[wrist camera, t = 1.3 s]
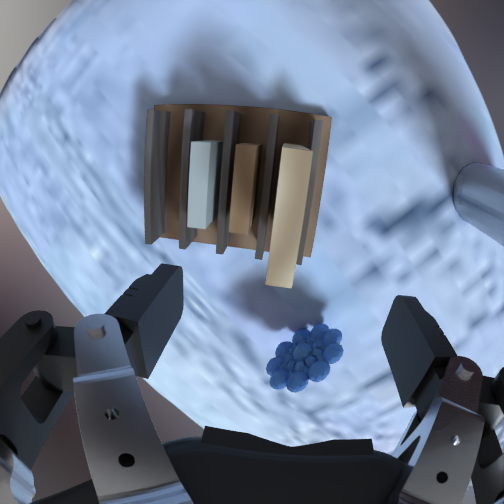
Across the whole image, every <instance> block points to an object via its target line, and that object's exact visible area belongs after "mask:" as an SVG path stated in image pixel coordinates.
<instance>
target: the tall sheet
mask: <svg viewBox="0 0 504 504" xmlns="http://www.w3.org/2000/svg"><path fill="white" fill-rule="evenodd" d="M312 155H313V151H311V150H309V149H307V148H306V147H304V146H302V145H297V144H290V143H284V144H283V146H282V153H281V162H280V170H279V179H278V187H277V196H276V204H275V212H274V220H273V228H272V236H271V244H270V252H269V260H268V267H267V275H266V282H265V285H270V286H277V287H285V288H292V284H293V278H294V273H295V267H296V261H297V256H298V250H299V244H300V238H301V231H302V225H303V219H304V212H305V206H306V199H307V192H308V185H309V178H310V170H311V163H312Z"/></svg>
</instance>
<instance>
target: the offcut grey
mask: <svg viewBox="0 0 504 504" xmlns="http://www.w3.org/2000/svg"><path fill="white" fill-rule="evenodd" d="M223 142H224V141H215V140H205V141H192V142H191V153H190V170H189V191H188V222H187V227H191V228H200V229H206V228H207V227H208V226H209V224H210V223H211V222H212V221H213V220H214V218H215V217H216V216H217V215H218V210H219V194H220V180H221V167H222V154H223Z"/></svg>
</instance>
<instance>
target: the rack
mask: <svg viewBox="0 0 504 504" xmlns="http://www.w3.org/2000/svg"><path fill="white" fill-rule="evenodd" d="M331 120H332V117H329V116H323V115H317V114H310V113H303V112H296V111H288V110H280V109H270V108H260V107H247V106H231V105H204V104H172V105H154V110H147V123H146V140H145V168H144V218H145V244H152V243H153V242H155V241H156V240H157V239H158V238H159V237H162V238H169V239H177V240H179V248H180V249H186V248H187V247H188V246H189V245H190V243H191V242H200V243H207V244H215V245H216V254H223V253H224V251H225V249H226V247H227V246H230V247H238V248H245V249H253V250H256V253H255V259H260V260H262V257H263V252H264V251H268V252H270V244H271V236H272V228H273V220H274V212H275V204H276V196H277V187H278V179H279V170H280V162H281V153H282V146H283V144H284V143H290V144H297V145H302V146H304V147H306V148H307V149H309V150H311V151H313V155H312V163H311V170H310V178H309V185H308V192H307V199H306V206H305V212H304V219H303V225H302V231H301V238H300V244H299V250H298V256H297V261H296V264H298V265H301V264H302V259H303V256H305V257H311V253H312V247H313V242H314V236H315V231H316V225H317V219H318V213H319V207H320V201H321V194H322V188H323V181H324V174H325V167H326V160H327V153H328V145H329V137H330V129H331ZM205 140H215V141H224V142H223V154H222V167H221V180H220V194H219V210H218V215H217V216H216V217H215V218H214V220H213V221H212V222H211V223H210V224H209V226H208V227H207V228H206V229H200V228H191V227H187V222H188V191H189V170H190V153H191V142H192V141H205ZM241 143H253V144H263V145H262V155H261V165H260V174H259V184H258V194H257V203H256V213H255V218H254V220H253V223H252V226H251V228H250V231H249V233H248V234H240V233H232V232H229V223H230V209H231V196H232V184H233V172H234V160H235V149H236V144H241Z"/></svg>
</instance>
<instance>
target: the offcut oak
mask: <svg viewBox="0 0 504 504" xmlns="http://www.w3.org/2000/svg"><path fill="white" fill-rule="evenodd" d="M262 145H263V144H253V143H241V144H236V149H235V160H234V172H233V184H232V196H231V209H230V223H229V232H232V233H240V234H248V233H249V231H250V228H251V226H252V223H253V220H254V218H255V213H256V203H257V194H258V184H259V174H260V165H261V155H262Z"/></svg>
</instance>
